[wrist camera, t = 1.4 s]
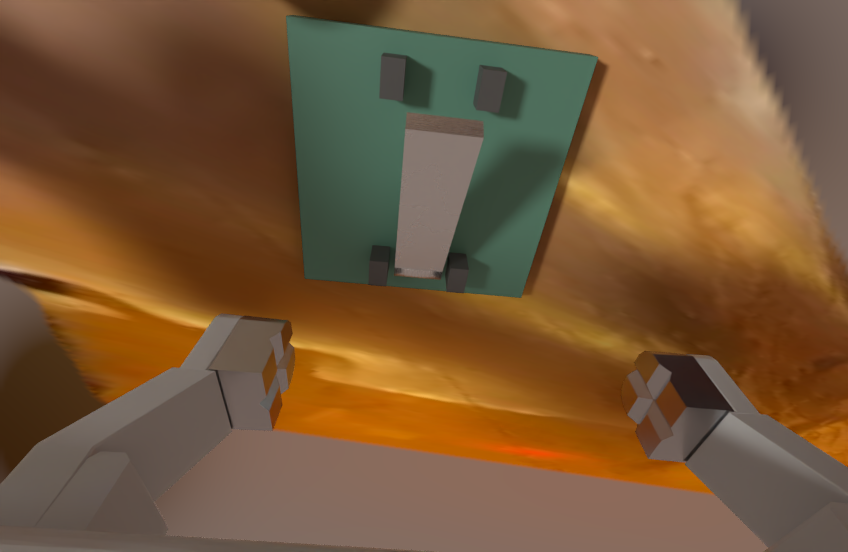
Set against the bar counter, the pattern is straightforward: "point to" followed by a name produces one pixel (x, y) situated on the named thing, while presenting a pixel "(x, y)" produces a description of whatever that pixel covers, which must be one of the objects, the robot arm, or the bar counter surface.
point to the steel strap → (433, 190)
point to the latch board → (384, 145)
